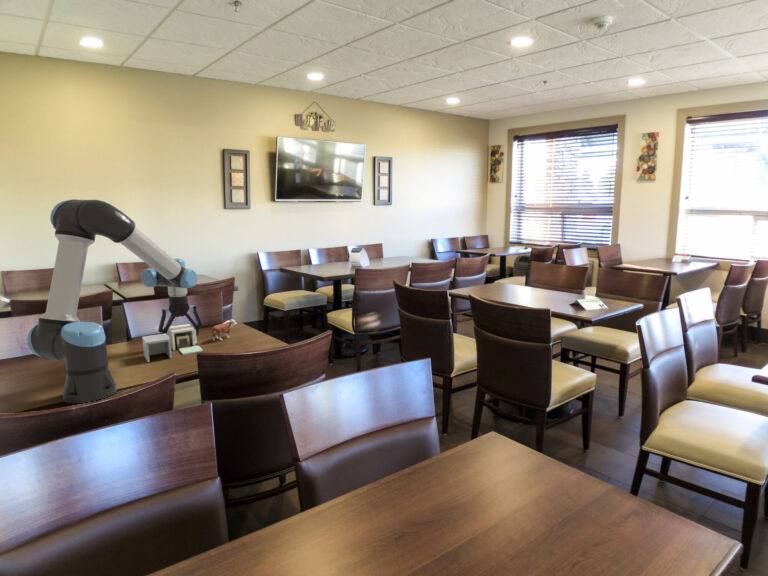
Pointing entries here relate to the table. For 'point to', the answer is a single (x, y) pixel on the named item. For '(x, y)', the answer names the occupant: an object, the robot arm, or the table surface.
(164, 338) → the grey hood
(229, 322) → the bull figurine
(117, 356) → the table surface
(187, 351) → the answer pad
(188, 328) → the cream hood
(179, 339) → the letter cube
